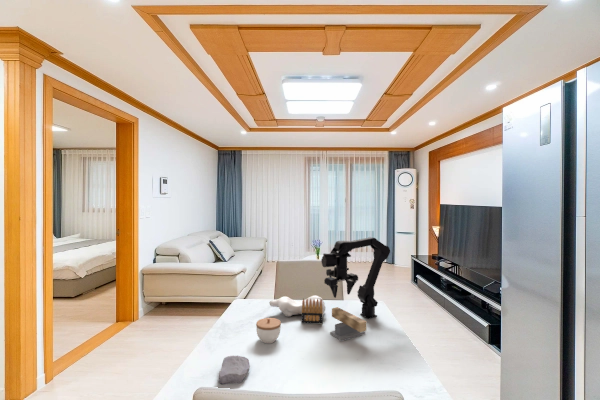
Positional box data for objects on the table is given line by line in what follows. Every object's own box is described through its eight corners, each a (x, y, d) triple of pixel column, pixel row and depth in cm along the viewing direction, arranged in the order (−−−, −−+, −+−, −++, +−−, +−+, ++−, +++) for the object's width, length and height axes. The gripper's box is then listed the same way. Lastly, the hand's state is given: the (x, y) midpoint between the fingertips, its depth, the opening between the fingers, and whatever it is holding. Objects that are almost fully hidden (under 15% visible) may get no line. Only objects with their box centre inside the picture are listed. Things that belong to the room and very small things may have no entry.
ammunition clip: (322, 322, 149) (322, 298, 149) (322, 323, 147) (322, 299, 147) (301, 321, 149) (301, 297, 149) (301, 323, 147) (301, 299, 147)
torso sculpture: (322, 312, 167) (270, 306, 167) (324, 294, 167) (272, 288, 167) (324, 324, 151) (267, 317, 151) (327, 303, 151) (269, 297, 151)
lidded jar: (284, 337, 131) (285, 316, 132) (272, 348, 122) (273, 325, 122) (264, 332, 136) (264, 312, 136) (251, 342, 126) (251, 321, 126)
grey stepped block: (353, 327, 142) (353, 317, 143) (364, 333, 136) (364, 322, 136) (330, 334, 135) (330, 323, 135) (341, 341, 128) (341, 329, 128)
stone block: (248, 369, 110) (222, 364, 109) (251, 356, 110) (224, 352, 109) (245, 390, 98) (216, 386, 97) (249, 376, 98) (219, 371, 97)
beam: (331, 316, 143) (331, 308, 143) (337, 315, 145) (337, 307, 145) (360, 332, 126) (360, 322, 126) (366, 330, 128) (366, 321, 128)
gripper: (344, 261, 164) (344, 289, 164) (317, 265, 153) (317, 295, 153) (358, 264, 154) (359, 294, 154) (331, 269, 144) (331, 301, 144)
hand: (341, 295), depth 152 cm, fingers open, 9 cm apart
